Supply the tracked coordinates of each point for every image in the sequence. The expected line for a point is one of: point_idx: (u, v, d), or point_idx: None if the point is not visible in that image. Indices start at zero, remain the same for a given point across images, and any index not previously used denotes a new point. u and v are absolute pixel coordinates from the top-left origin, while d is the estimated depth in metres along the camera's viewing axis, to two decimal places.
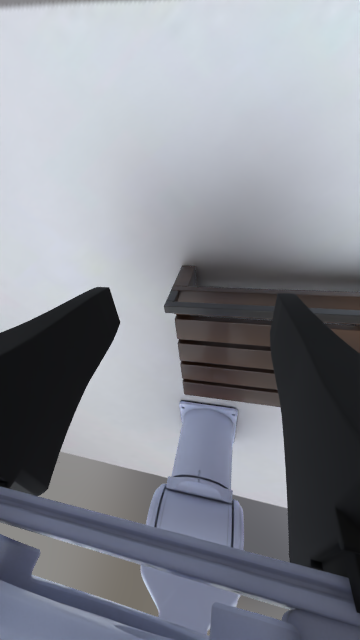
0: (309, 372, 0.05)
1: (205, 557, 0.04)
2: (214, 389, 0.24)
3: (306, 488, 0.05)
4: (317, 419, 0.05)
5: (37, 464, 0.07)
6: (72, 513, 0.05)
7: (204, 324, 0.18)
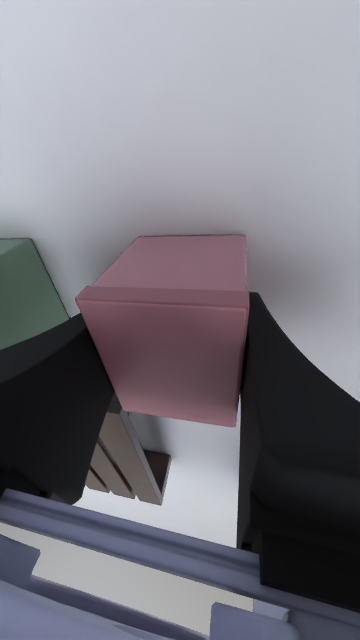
0: (249, 366, 0.06)
1: (205, 557, 0.04)
2: (139, 490, 0.20)
3: (243, 476, 0.05)
4: (249, 410, 0.05)
5: (72, 472, 0.07)
6: (72, 514, 0.05)
7: None
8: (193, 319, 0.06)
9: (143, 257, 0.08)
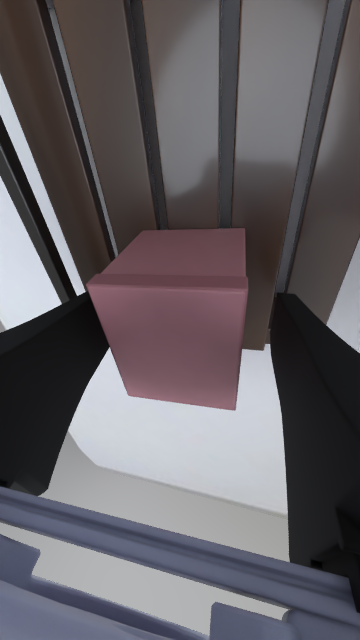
0: (309, 372, 0.05)
1: (205, 557, 0.04)
2: None
3: (306, 488, 0.05)
4: (317, 419, 0.05)
5: (37, 464, 0.07)
6: (72, 514, 0.05)
7: None
8: (197, 302, 0.06)
9: (148, 248, 0.09)
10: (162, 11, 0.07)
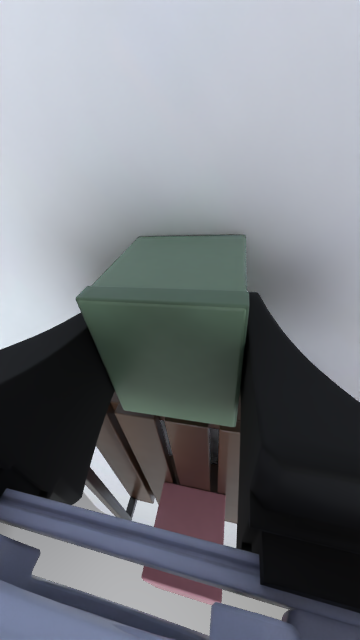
0: (249, 366, 0.06)
1: (205, 557, 0.04)
2: None
3: (243, 476, 0.05)
4: (249, 410, 0.05)
5: (73, 472, 0.07)
6: (72, 514, 0.05)
7: (157, 497, 0.21)
8: (197, 596, 0.13)
9: (170, 521, 0.16)
10: (180, 450, 0.13)
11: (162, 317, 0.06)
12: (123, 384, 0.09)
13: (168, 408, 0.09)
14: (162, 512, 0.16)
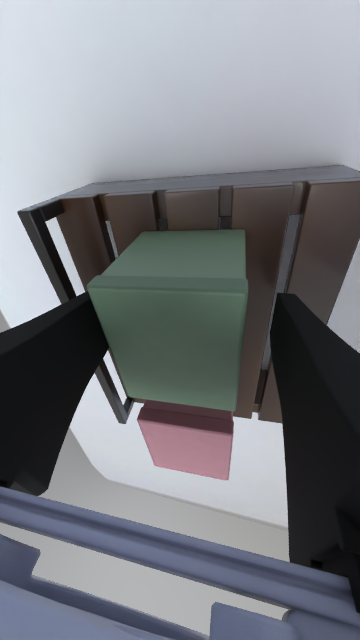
0: (310, 372, 0.05)
1: (205, 557, 0.04)
2: (273, 396, 0.16)
3: (306, 488, 0.05)
4: (317, 419, 0.05)
5: (37, 464, 0.07)
6: (72, 514, 0.05)
7: None
8: (204, 435, 0.11)
9: None
10: None
11: (167, 303, 0.07)
12: (128, 371, 0.09)
13: (171, 393, 0.09)
14: None
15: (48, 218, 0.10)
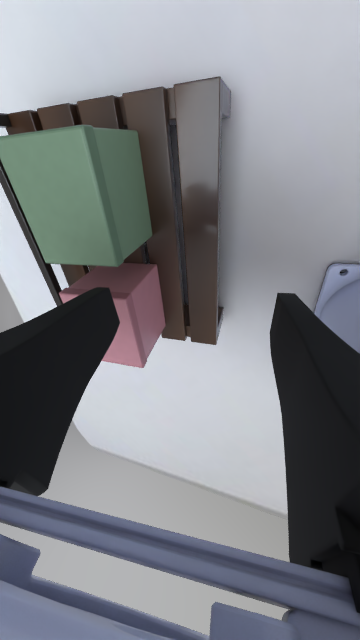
0: (309, 372, 0.05)
1: (205, 557, 0.04)
2: (196, 311, 0.18)
3: (306, 488, 0.05)
4: (317, 419, 0.05)
5: (37, 464, 0.07)
6: (72, 514, 0.05)
7: None
8: None
9: (98, 274, 0.16)
10: None
11: (40, 145, 0.09)
12: (37, 229, 0.12)
13: (70, 251, 0.12)
14: (93, 271, 0.17)
15: None
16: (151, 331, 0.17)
